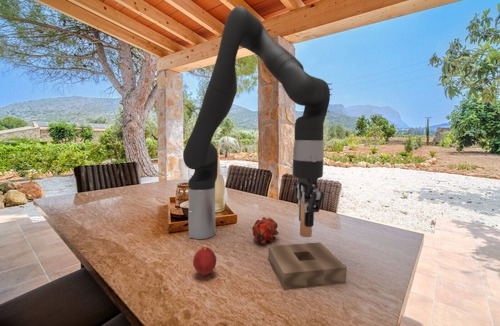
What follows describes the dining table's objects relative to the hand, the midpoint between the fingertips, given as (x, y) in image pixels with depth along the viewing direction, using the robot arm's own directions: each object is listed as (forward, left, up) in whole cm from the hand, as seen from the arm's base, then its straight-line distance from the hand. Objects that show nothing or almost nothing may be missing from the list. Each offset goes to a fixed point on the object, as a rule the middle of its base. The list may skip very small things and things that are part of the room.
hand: (306, 223), depth 63 cm
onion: (-26, +2, -13) cm, 29 cm away
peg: (0, 0, -3) cm, 3 cm away
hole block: (0, 0, -13) cm, 13 cm away
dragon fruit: (-6, +19, -13) cm, 24 cm away
